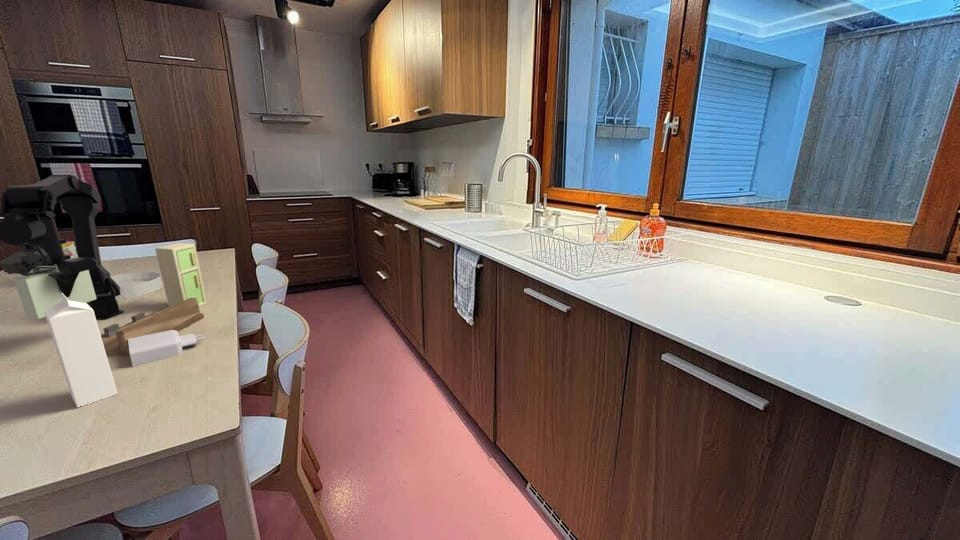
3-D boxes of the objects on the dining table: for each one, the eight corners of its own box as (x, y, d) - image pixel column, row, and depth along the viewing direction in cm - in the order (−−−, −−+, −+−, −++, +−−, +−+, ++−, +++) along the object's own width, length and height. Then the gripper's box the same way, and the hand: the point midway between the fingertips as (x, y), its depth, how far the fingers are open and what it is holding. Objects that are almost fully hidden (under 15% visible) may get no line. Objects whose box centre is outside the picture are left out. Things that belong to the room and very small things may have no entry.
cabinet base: (72, 353, 97) (64, 329, 95) (154, 316, 120) (149, 297, 118) (133, 355, 96) (126, 331, 94) (204, 317, 119) (199, 298, 117)
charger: (209, 350, 101) (133, 369, 91) (203, 338, 107) (131, 354, 97) (206, 334, 99) (128, 351, 89) (200, 322, 106) (127, 337, 96)
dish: (173, 290, 146) (170, 277, 144) (95, 308, 128) (91, 293, 126) (150, 280, 157) (147, 269, 156) (75, 296, 139) (71, 282, 138)
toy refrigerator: (188, 313, 123) (173, 248, 117) (169, 311, 124) (154, 247, 119) (209, 304, 130) (197, 243, 125) (191, 302, 132) (178, 242, 126)
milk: (110, 385, 83) (83, 288, 78) (118, 394, 80) (90, 294, 74) (70, 398, 79) (38, 296, 73) (76, 408, 75) (43, 302, 69)
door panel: (27, 318, 93) (13, 279, 91) (86, 298, 107) (76, 264, 104) (38, 318, 93) (25, 279, 91) (96, 299, 107) (86, 264, 104)
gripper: (-37, 243, 88) (-13, 307, 92) (40, 244, 87) (61, 309, 91) (21, 235, 99) (40, 292, 103) (91, 235, 98) (107, 293, 102)
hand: (60, 297), depth 99 cm, fingers closed on door panel, 3 cm apart
